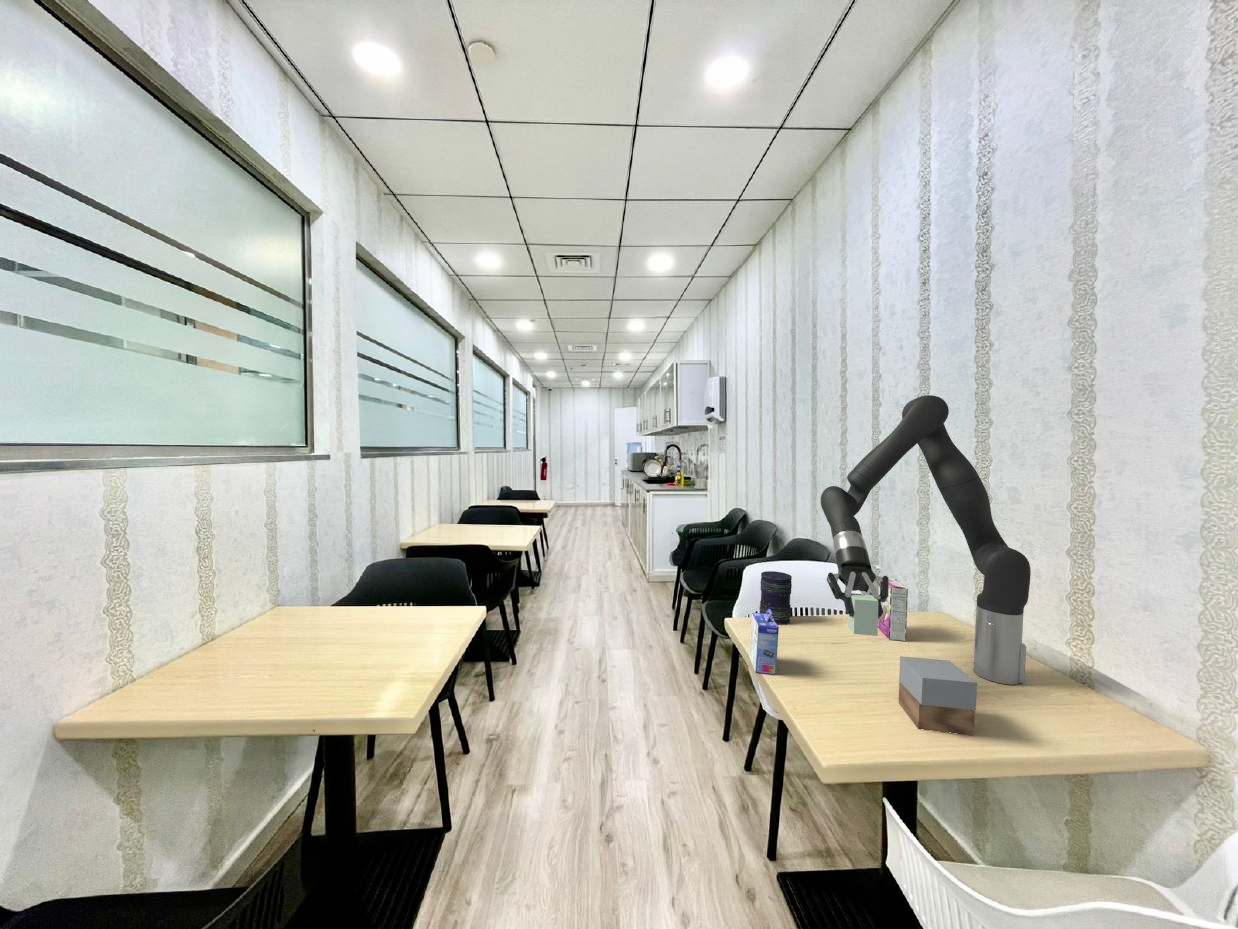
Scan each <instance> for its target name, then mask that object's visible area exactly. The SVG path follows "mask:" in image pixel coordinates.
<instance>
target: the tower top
mask: <svg viewBox="0 0 1238 929" xmlns="http://www.w3.org/2000/svg"><path fill="white" fill-rule="evenodd" d="M898 673H899V676H898V677H899V678H898V681H900V682H901V683H902V684H903V685H904V686H905V688H906V689H907V690H908V691H909V692H910V693H911V694H912V695H913V696H914V697H915V698H916V699H917V701H918V702H919V703H920V704H921V705H929V706H940V707H950V708H960V709H971V710H975V711H977V699H978V698H977V697H978V696H977V693H978V682H977V681H976V680H975V679H974V678H972V677H971V676H969V674H967V673H965V672H964V671H963V670H962V669H960V668H959V667H958V666H957V665H956V664H954V663H953V662H952V661H951V660H950V659H949V660H948V659H937V658H928V657H927V658H926V657H925V658H924V657H913V656H912V657H911V656H902V655H900V656H899V672H898Z"/></svg>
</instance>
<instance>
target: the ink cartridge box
mask: <svg viewBox="0 0 1238 929" xmlns="http://www.w3.org/2000/svg"><path fill="white" fill-rule="evenodd" d="M768 613H769V614H768ZM772 614H773V613H772V611H771V610H770V609H769V610H768V611H767V612H766V614H762V613H760V612H759V613H758V612H752V613H751V624H750V625H751V626H750V638H749V651H748V652H749V653H748V654H749V655H748V656H749V657H748V658H749V660H750V662H751V664H752V666H753V670H754V672H755V673H759V674H760V673H761V674H767V675H777V666H778V665H777V664H778V649H779V648H778V646H779V645H778V644H779V631H780V630H779V629H780V627H779V625H777V624H776V622H775V620H774V619H773V617H772V616H771V615H772Z"/></svg>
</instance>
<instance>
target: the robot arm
mask: <svg viewBox="0 0 1238 929" xmlns="http://www.w3.org/2000/svg"><path fill="white" fill-rule="evenodd" d="M949 412H950V409H949V404H948V403H947V402H946V400H945V399H943V398H941V397H940V396H937V395H931V394H930V395H929V394H928V395H927V394H926V395H921V396H919V397H916V398H913V399H912V400H910V401H908V402H907V403H906V404H905V405H904V407H903V408H902V412H901V418H902V419H901V420H900V422H898V425H897V426H896V427H895V428H894V429H893V431H892V432H891V433H889V435H887V436H886V437H885V439H884V440H882V441H881V442H880V443H879V444H877V445H876V446H875V447H874V448H873V449H871V450H870V452H869V453H867V454H866V455H865V456H864V457H863V458H862V459H861V460H860V461H859V462H858V463H857V464H856V466H855V467H853V469H852V470H850V472H849V473H848V474H847V475H846V479H847V481H848V483H849V485H850V486H849V489H848V490H847V491H846V490H845V489H844V488H842V487H841V486H838V485H832V486H828V487H827V488H825V489H824V490H823V491H822V493H821V494H820V495H821V496H820V506H821V509H822V511H823V514H824V516H825V519H826V521H827V522H828V524H829V526H830V531H831V536H832V541H833V542H832V543H833V553H834V555H835V556H834V557H835V562H836V566H837V570H838V572H837V573H833V572H828V575H827V577H826V582H827V584H828V586H829V588H830V590H831V593H832V594H833V597H834V599H835V600H841V601H842V602H844V603H843V604H844V609H845V612H846V614H847V615H848V614H849V616H850V617H853V615H854V607H853V603H852V598H850V597H851V593H852V592H856V591H859V592H864V594H870V595H872V596H873V597H874V598H875V599H877V600H878V619H879V618H880V617H881V616H882V614H883V609H882V605H881V602H885V601H886V599H887V598H888V584H889V578H890V577H889V576H888V575H883V576H878V575H876V573H875V572H874V571H873V568H872V564H871V560H870V556H869V553H868V548H867V545H866V542H865V539H864V537H863V533H862V530H861V527H860V523H859V521H858V519H857V518H856V515H857V514H858V513H859V512H860V510H861V509H862V507H863V505H864V503H865V502H866V500H867V498H868V496H869V494H870V492H871V490H872V489H873V488H875V487H876V485H877V484H879V482H881V480H882V479H883V478H884V477H885V476H886V475H887V474H888V473H889V472H890V471H891V470H892V469H893V468H894V467H895V466H896V464H898V462H899V461H900V460H901V459H902V458H903V457H904V456H905V455H906V454H907V453H908V452H909V451H910V450H912V449H913V447H915V446H916V445H918V447H919V449H920V451H921V452H922V454H923V457H924V459H925V462H926V464H927V466H928V468H929V471H930V473H931V475H932V478H933V479H934V482H935V484H936V487H937V488H938V490H939V492H940V494H941V496H942V498H943V500H944V502H945V504H946V506H947V507H948V509H949V512H950V513H951V514H952V516H953V518H954V521H955V522H956V523H957V524H958V526H959V529H960V530H961V531H962V533H963V535H964V538H965V541H966V544H967V546H968V549H969V552H970V554H971V558H972V560H973V563H974V565H975V567H976V569H977V570H978V571H979V572H980V574H982V575H983V584H982V587H983V588H982V591H981V592H980V593H978V594H977V596H976V605H975V606H976V610H975V629H974V631H975V632H974V648H973V649H974V650H973V669H972V670H973V673H975V674H976V675H978V676H979V677H981V678H984V679H986V680H988V681H991V682H995V683H997V684H1003V685H1011V686H1012V685H1013V686H1014V685H1018V684H1025V680H1026V677H1025V676H1026V661H1027V660H1026V658H1027V657H1026V656H1027V645H1026V643H1023V634H1024V633H1023V631H1024V630H1023V629H1024V614H1025V613H1024V611H1025V606H1026V605H1027V604H1028V600H1029V594H1030V588H1031V587H1030V586H1031V584H1030V583H1031V576H1032V575H1031V574H1032V572H1031V564H1030V562H1029V560H1028V558H1027V557H1026V556H1025V555H1024V554H1023V553H1022V552H1020V551H1018V550H1016V549H1015V548H1012V547H1009V545H1007V543H1006V542H1005V540H1004V538H1003V537H1002V535H1001V534H1000V532H999V530H998V529H997V527H996V524H995V522H994V520H993V514H992V509H991V502H990V501H991V500H990V498H989V494H988V492H987V489H986V486H985V485H984V483H983V481H982V479H981V477H980V475H979V473H978V471H977V470H976V469H975V467H974V466H973V464H972V463H971V462H970V461H969V459H968V458H967V457H966V456H965V455H964V454H963V453H962V452H961V451H960V449H959V448H958V447H957V445H955V443H954V441H953V440H952V439H951V436H950V435H949V433H948V430H947V428H946V425H945V423H946V422H947V419H948V417H949V414H950V413H949ZM839 581H840V582H841V583H842V585H844V586H845V588H844V592H843V591H842V590H841V587H840V586H839V585H840V584H839V583H838V582H839ZM874 582H876V583H877V587H878V586H880V595H879V594H878V591H877V588H876V586H875V585H874Z"/></svg>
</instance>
